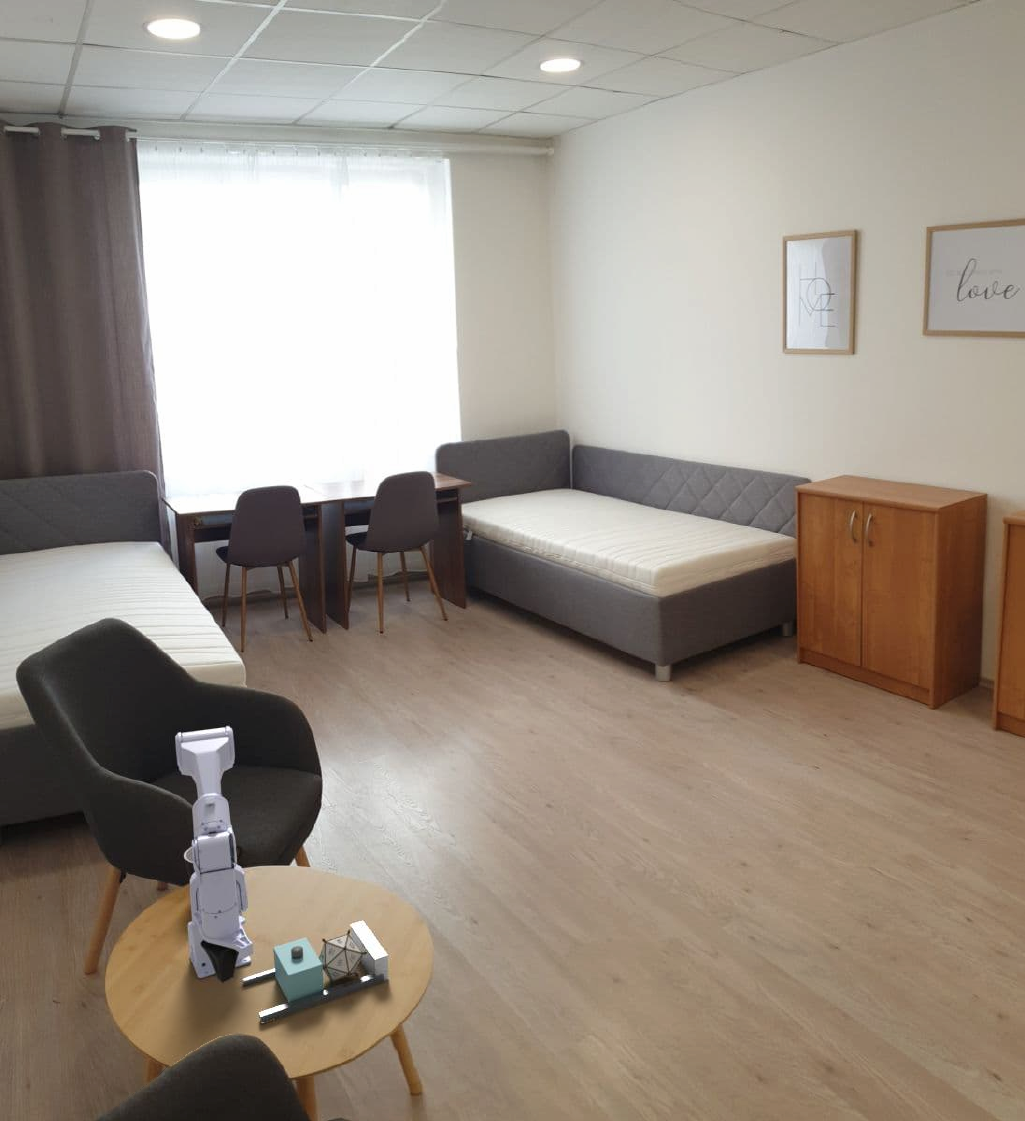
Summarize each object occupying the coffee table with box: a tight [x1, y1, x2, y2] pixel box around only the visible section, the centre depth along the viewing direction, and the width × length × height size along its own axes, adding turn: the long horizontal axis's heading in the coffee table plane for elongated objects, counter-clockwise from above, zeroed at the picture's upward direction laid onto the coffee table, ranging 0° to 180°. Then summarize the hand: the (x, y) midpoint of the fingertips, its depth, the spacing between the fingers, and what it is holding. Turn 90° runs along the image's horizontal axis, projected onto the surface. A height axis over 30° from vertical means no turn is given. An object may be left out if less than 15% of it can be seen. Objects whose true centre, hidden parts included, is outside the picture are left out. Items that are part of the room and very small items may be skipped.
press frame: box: [241, 920, 390, 1023], centre depth 177 cm, size 23×12×5 cm, turn 119°
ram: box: [272, 936, 325, 1003], centre depth 176 cm, size 6×9×7 cm, turn 29°
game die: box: [318, 928, 368, 987], centre depth 178 cm, size 9×8×10 cm
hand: (225, 978), depth 163 cm, fingers closed
